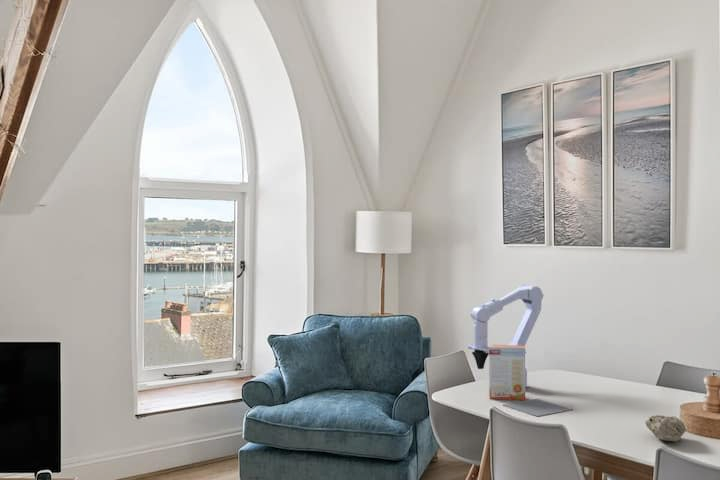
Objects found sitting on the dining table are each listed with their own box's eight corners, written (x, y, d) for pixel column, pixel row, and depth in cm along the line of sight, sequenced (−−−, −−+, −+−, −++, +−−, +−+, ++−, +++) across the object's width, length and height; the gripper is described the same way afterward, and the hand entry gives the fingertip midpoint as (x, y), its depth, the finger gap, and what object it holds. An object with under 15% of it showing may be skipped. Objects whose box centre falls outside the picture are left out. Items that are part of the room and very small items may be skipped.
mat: (537, 399, 264) (537, 398, 264) (573, 409, 249) (573, 409, 249) (502, 405, 255) (502, 404, 255) (537, 416, 240) (537, 415, 240)
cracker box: (524, 397, 268) (524, 344, 267) (525, 401, 262) (525, 347, 261) (489, 395, 271) (489, 343, 270) (488, 399, 265) (489, 346, 264)
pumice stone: (688, 450, 204) (688, 423, 203) (646, 445, 208) (646, 419, 208) (684, 436, 216) (684, 412, 216) (644, 432, 221) (644, 408, 221)
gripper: (461, 334, 284) (462, 366, 284) (484, 339, 271) (484, 372, 272) (474, 333, 287) (474, 364, 288) (497, 337, 275) (497, 370, 275)
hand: (480, 368), depth 280 cm, fingers closed
